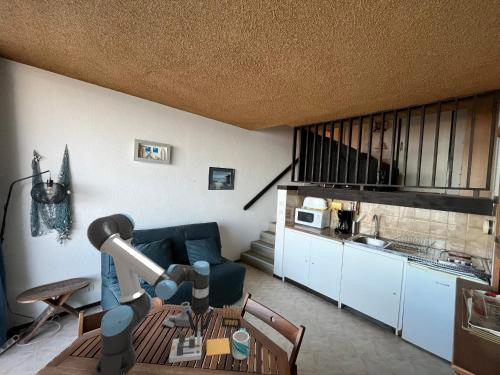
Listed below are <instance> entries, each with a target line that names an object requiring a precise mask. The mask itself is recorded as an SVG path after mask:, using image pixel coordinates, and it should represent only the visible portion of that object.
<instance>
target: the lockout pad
mask: <svg viewBox="0 0 500 375" xmlns="http://www.w3.org/2000/svg"><path fill="white" fill-rule="evenodd" d="M230 354H231V349H230V342H229V337H224V338H212V339H206V357H211V356H213V357H214V356H220V355H221V356H222V355H230Z"/></svg>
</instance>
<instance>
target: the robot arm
mask: <svg viewBox="0 0 500 375" xmlns="http://www.w3.org/2000/svg"><path fill="white" fill-rule="evenodd" d="M135 226H136V222H135V221H134V219H133V217H131V216H130V215H128V214H127V213H123V212H121V213H114V214H111V215H107V216H101V217H98V218H96V219H94V220H93V221H92V222H91V223H90V224H89V226H87V230H86V232H87V233H86V236H87V239H88V242H89V243H90V244H91V245H92V246H93V247H94V248H95V249H96V250H97V251H98V252H100V253H106V254H108V255H109V256H110V257H112V258H113V259H112V260H113V263H114V268H115V272H116V277H117V281H118V285H119V286H118V287H119V289H120V294H121V296H120V297H119V299H118V302H119V305H118V306H116V307H113V308H111V309H109V310H108V311H106V313H105V314H104V315H103V317H102V319H101V323H100V324H101V325H100V328H99V329H100V353H99V356H98V358H97V361H96V364H95V369H94V371H95V372H94V374H95V373H96V374H95V375H123V374H125V375H126V374H127V373H128V371H129V370H130V369H131V370H132V369H133V368H134V367H135V365H136V362H137V353H136V350H135V348H134V345H133V332H134V330H135V329H137V327H138V326H140V323H141V322H143V320H144V319H146V318H147V317H148V315H149V314H150V312H151V310H152V308H153V303H154V302H153V298H152V296H151V295H150V294H149V293H148V292H147V291H146V289H144V288H142V287H141V286H142V285H141V283H140V278H141V279H142V280H143V281H145V282H147V283H148V284H149V285H150V286H152V287H153V288H154V293H155V295H156V297H157V298H158V299H160V300H162V301H167V300H169V299H170V298H172V296H174V295H175V294H176V293H177V291H178V290H179V288H180V287H181V286H182V285H183V284H184V283H189V284H190V283H192V298H191V299H192V300H191V305H190V306H189V308H187V310H186V313H187V315H188V317H189V322H190V330H191V331H194V336H195V337H197V345H200V337H202V338H203V336H204V330H207V329H208V326H209V323H210V319H211V317H212V313H213V312H214V306H210V304H209V292H210V290H209V289H210V272H211V271H210V263H209V262H207V261H205V260H198V261H196V262H194V263H193V265H187V264H179V263H177V264H170V266H169V267H168V269H167V270H166V269H164V268H162V266H159V265H158V264H157V263H156V262H154V261H153V260H152V259H150V258H149V257H147V256H146V255H145V254H143V253H142V252H141V251H139V250H137V249H136V248H135V247H133V246H132V240H133V239H134V236H133V232H134V230H135V228H136V227H135ZM192 312H193V313H194V315H195V322H194V318H193V314H192ZM206 312H207V315H206V319H205V318H204V317H205V313H206ZM199 315H200V327H199ZM204 319H205V322H204ZM131 370H130V371H131ZM130 371H129V372H130Z"/></svg>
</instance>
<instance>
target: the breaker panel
mask: <svg viewBox="0 0 500 375" xmlns="http://www.w3.org/2000/svg"><path fill="white" fill-rule="evenodd" d="M178 343H179V338H173V339H172V344H171V349H170V352H169V356H168V363H171V364H172V363H179V362H189V361H197V360H198V361H199V360H202V344H203V336H202V337H200V345H197V337H195V347H194V348H189V337H185V342H184V346H183V355H179V356H177V344H178Z"/></svg>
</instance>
